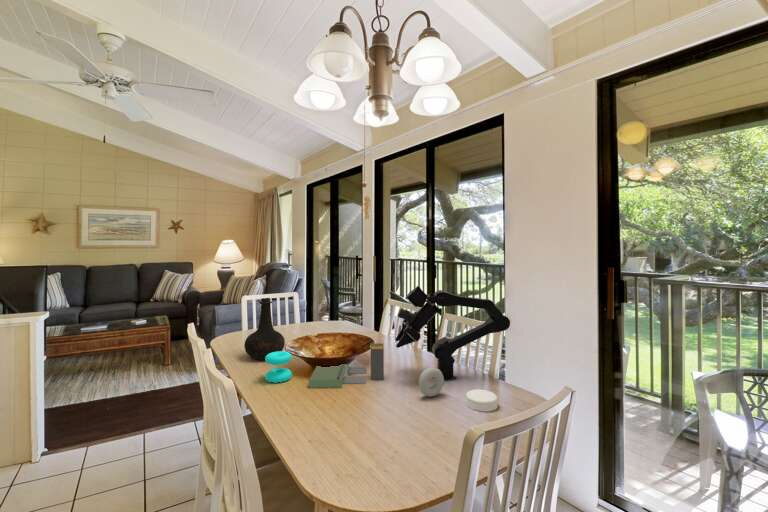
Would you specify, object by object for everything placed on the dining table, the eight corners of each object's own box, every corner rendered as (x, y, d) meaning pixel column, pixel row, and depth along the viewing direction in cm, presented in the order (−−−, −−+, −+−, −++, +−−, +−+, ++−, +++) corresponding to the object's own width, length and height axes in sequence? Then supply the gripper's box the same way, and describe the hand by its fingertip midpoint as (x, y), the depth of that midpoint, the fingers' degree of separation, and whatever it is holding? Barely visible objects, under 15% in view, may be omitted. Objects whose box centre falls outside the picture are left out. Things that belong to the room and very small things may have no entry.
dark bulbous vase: (236, 358, 168) (236, 298, 167) (268, 349, 183) (268, 294, 182) (260, 365, 158) (260, 302, 157) (292, 355, 173) (292, 297, 172)
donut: (440, 391, 129) (440, 363, 129) (446, 395, 126) (446, 366, 126) (416, 397, 124) (416, 368, 124) (422, 401, 121) (422, 371, 121)
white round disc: (459, 401, 121) (460, 391, 121) (484, 397, 125) (484, 387, 124) (478, 414, 112) (478, 403, 112) (504, 409, 115) (504, 398, 115)
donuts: (292, 356, 138) (264, 359, 135) (292, 382, 139) (265, 385, 136) (290, 349, 148) (264, 351, 145) (290, 373, 148) (265, 376, 145)
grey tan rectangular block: (383, 375, 146) (383, 343, 145) (383, 380, 140) (383, 346, 140) (370, 375, 146) (370, 343, 145) (370, 380, 140) (370, 346, 140)
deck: (367, 369, 153) (367, 360, 153) (364, 387, 133) (364, 377, 133) (318, 369, 153) (318, 361, 153) (309, 387, 133) (309, 378, 133)
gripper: (407, 298, 152) (381, 324, 152) (411, 305, 133) (381, 335, 133) (426, 316, 152) (400, 342, 152) (432, 326, 133) (403, 356, 134)
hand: (396, 343), depth 143 cm, fingers open, 9 cm apart
